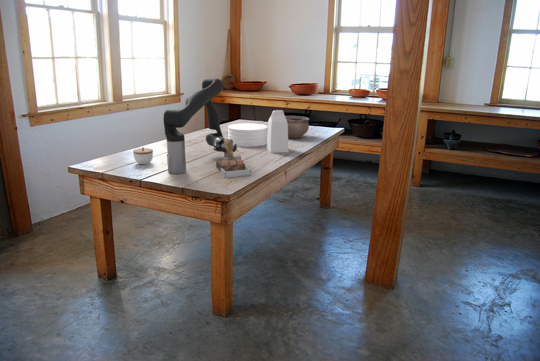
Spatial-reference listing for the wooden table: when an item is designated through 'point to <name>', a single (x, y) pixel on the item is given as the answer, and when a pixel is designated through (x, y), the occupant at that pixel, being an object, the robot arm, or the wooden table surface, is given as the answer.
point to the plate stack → (248, 134)
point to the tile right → (239, 161)
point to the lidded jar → (143, 155)
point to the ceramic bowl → (297, 126)
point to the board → (230, 167)
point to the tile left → (224, 162)
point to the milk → (277, 132)
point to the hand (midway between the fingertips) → (230, 150)
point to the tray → (236, 172)
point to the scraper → (228, 151)
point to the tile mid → (232, 162)
